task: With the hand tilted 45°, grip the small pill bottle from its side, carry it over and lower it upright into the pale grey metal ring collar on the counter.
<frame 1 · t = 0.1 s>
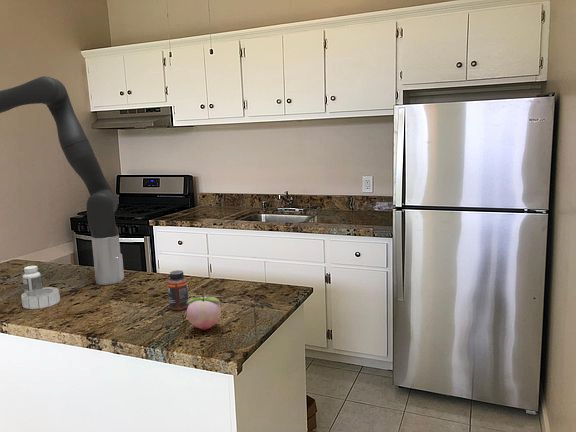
pill bottle: (33, 295, 157), on the counter
decorative fruit: (205, 329, 125), on the counter
ring collar: (41, 302, 149), on the counter
supplement bottle: (179, 308, 142), on the counter
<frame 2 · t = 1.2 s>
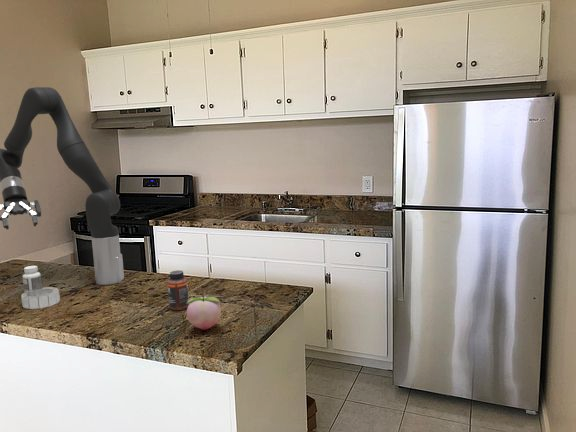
hand: (21, 226, 163), 22 cm above the counter, fingers open, 8 cm apart
nothing on the counter moved.
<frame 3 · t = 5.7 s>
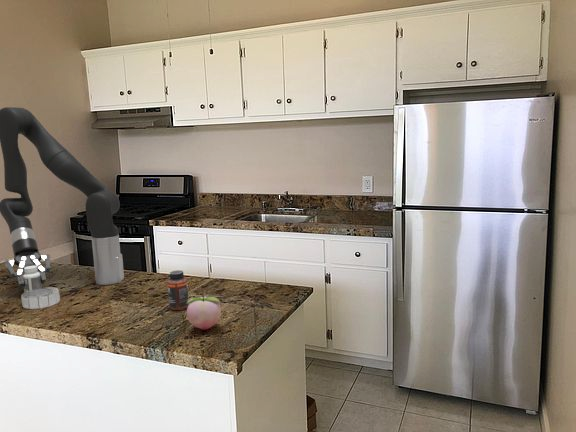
hand: (33, 284, 155), 4 cm above the counter, fingers closed on pill bottle, 5 cm apart
pill bottle: (33, 295, 157), on the counter, touching gripper
everything else where it was.
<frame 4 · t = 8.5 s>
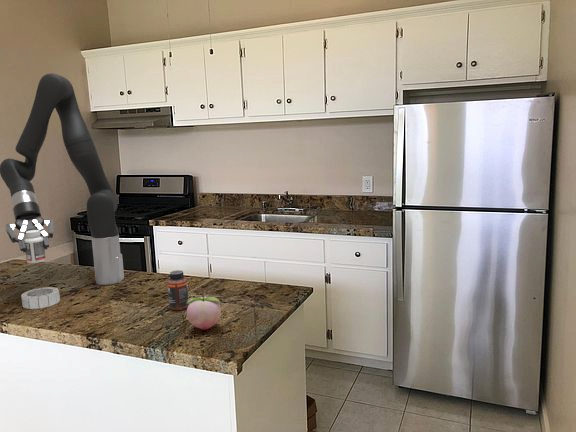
hand: (35, 249, 145), 18 cm above the counter, fingers closed on pill bottle, 5 cm apart
pill bottle: (36, 261, 147), point 14 cm above the counter, touching gripper
everything else where it was.
when the fingers open (6 cm above the counter, at t = 11.4 s): pill bottle drops 1 cm, resting in ring collar.
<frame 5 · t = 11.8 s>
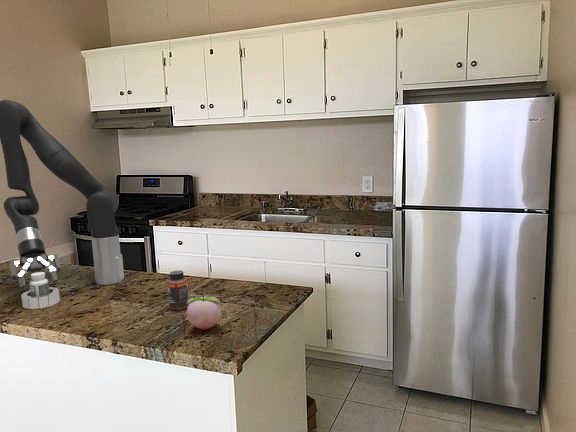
hand: (40, 285, 147), 6 cm above the counter, fingers open, 8 cm apart
pill bottle: (41, 303, 149), resting in ring collar
everything else where it was.
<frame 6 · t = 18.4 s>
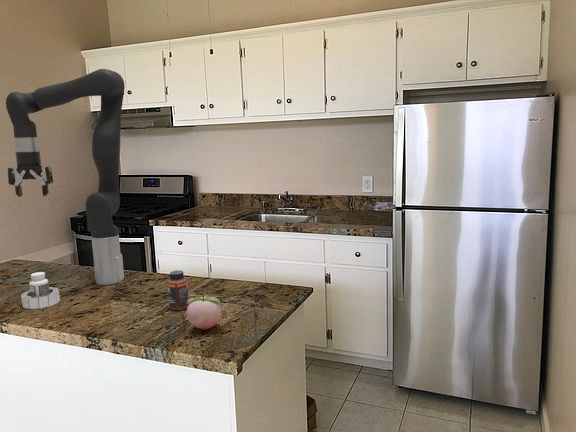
hand: (32, 196, 166), 32 cm above the counter, fingers open, 8 cm apart
nothing on the counter moved.
at the end: pill bottle 0.3 cm off-centre on the ring collar, point 0.0 cm above the ring collar's base; pill bottle tilted 0°; the gripper is holding nothing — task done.
